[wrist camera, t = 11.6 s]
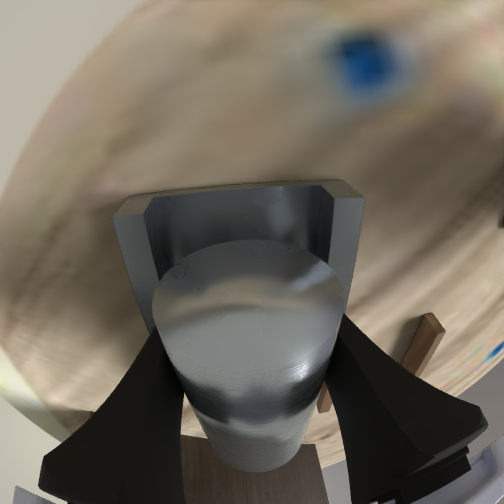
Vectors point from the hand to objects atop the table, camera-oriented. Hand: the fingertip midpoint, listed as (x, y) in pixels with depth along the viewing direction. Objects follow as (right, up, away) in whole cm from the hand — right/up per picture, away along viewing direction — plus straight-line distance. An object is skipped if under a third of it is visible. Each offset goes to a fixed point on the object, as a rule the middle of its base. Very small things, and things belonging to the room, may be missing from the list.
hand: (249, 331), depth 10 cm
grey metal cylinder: (0, -1, +3) cm, 3 cm away
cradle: (0, +1, +3) cm, 4 cm away
